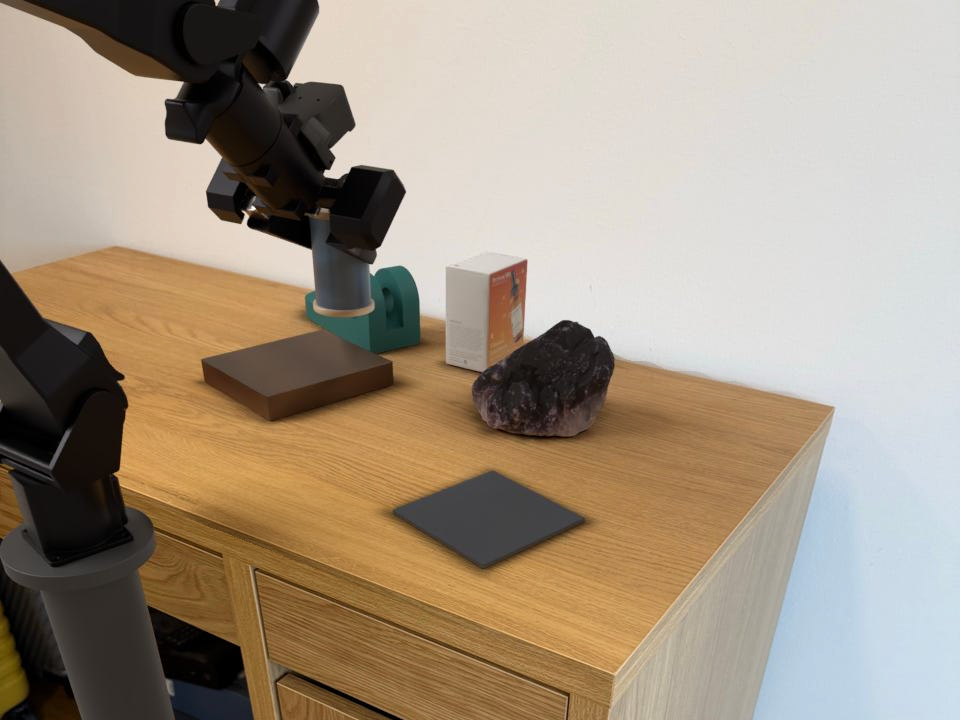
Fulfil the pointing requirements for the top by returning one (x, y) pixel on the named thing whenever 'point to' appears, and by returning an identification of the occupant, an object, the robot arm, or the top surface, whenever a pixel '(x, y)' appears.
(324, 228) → the spool
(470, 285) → the small box
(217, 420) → the top surface
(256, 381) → the platform
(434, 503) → the felt mat
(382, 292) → the bracket
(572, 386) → the crystal cluster
